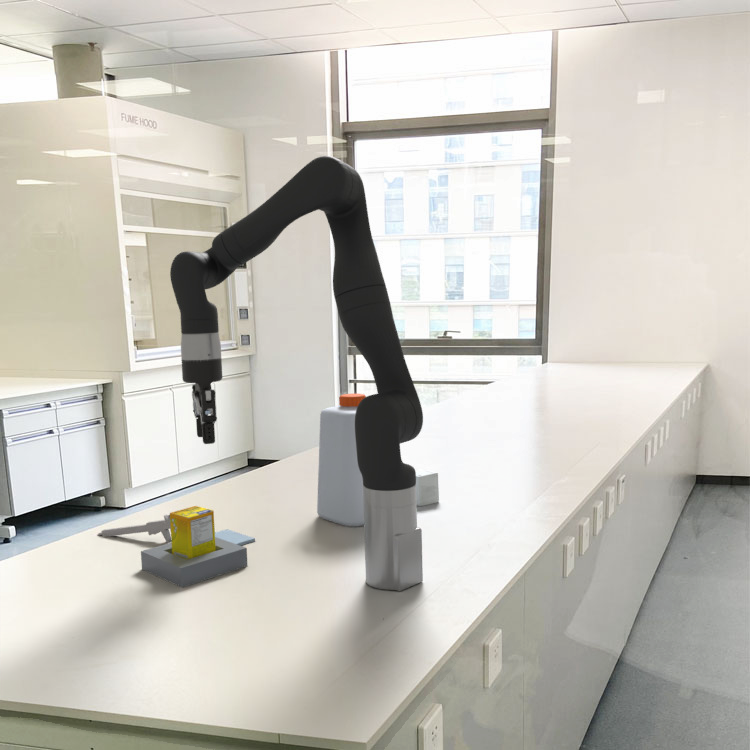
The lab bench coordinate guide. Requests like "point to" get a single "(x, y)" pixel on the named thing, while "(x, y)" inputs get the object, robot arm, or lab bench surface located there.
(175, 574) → the socket block
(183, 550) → the supplement box
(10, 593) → the lab bench surface
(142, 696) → the lab bench surface
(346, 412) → the plastic bottle
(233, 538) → the pad
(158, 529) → the caliper
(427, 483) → the skincare box
